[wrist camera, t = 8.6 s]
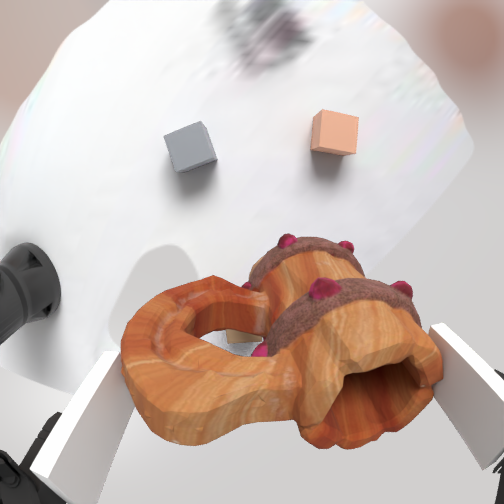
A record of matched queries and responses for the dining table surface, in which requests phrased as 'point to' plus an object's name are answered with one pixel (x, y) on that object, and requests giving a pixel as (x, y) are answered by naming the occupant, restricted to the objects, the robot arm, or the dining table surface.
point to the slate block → (190, 147)
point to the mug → (283, 351)
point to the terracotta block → (334, 133)
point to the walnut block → (241, 337)
